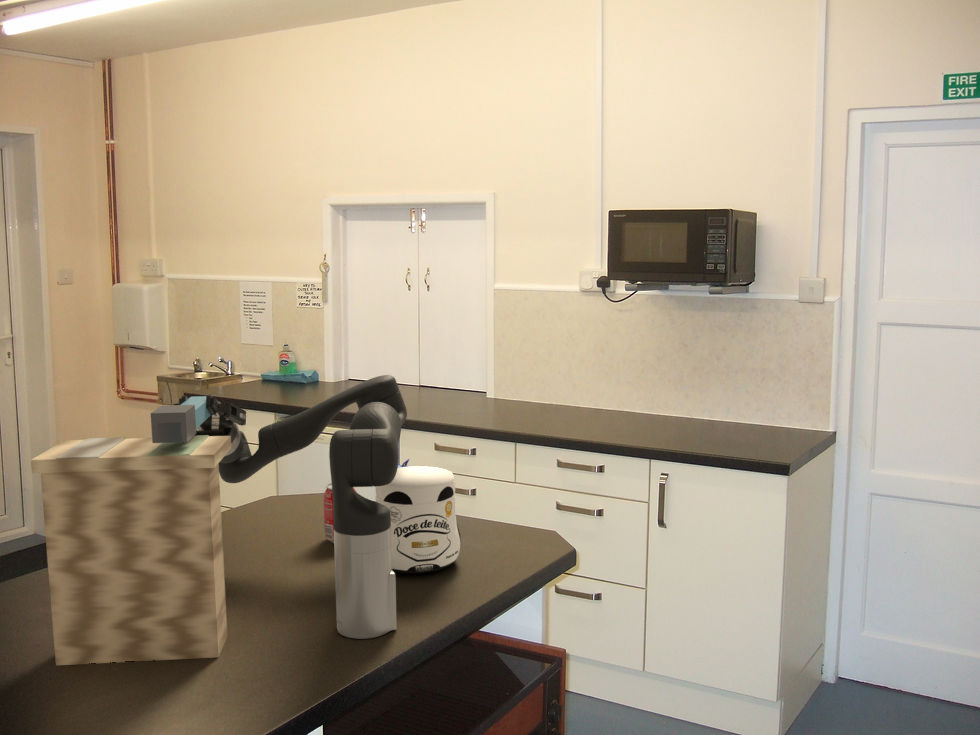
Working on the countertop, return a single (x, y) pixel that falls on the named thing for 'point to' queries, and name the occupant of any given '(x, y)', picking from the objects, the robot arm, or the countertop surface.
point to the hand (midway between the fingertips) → (195, 401)
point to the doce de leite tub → (421, 519)
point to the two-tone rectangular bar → (178, 420)
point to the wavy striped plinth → (134, 548)
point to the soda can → (329, 513)
